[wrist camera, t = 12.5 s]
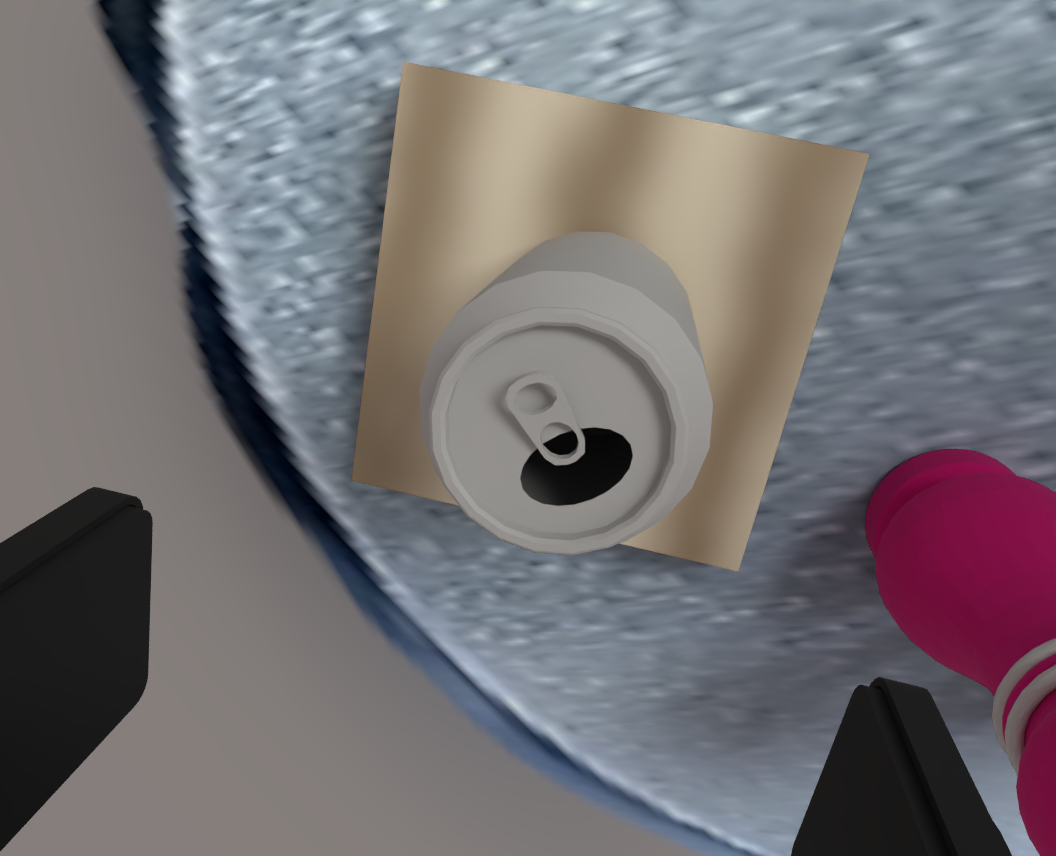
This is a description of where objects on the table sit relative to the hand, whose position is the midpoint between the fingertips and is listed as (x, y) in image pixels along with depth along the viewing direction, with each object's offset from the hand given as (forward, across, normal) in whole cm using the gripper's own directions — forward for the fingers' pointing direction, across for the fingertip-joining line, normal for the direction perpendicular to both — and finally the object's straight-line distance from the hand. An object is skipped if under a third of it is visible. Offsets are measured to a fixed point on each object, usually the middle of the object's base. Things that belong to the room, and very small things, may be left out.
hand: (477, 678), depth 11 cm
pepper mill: (+25, -16, +5) cm, 30 cm away
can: (+22, 0, 0) cm, 22 cm away
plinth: (+24, 0, 0) cm, 24 cm away
